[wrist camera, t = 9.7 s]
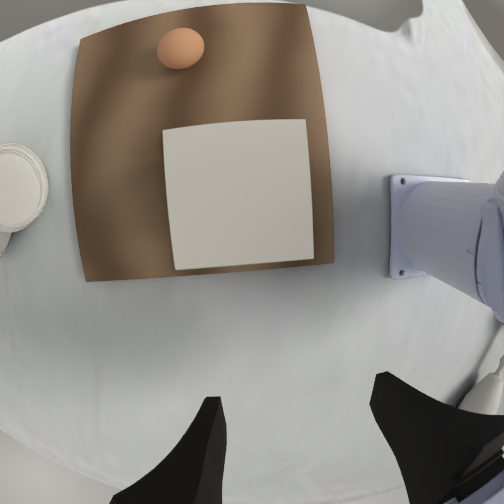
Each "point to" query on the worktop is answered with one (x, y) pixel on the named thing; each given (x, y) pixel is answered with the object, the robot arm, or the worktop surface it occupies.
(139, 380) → the worktop surface
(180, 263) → the rounded beige cube
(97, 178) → the walnut board
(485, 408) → the chalice
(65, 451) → the worktop surface
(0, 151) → the spread jar
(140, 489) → the robot arm
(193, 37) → the terracotta ball
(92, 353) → the worktop surface
